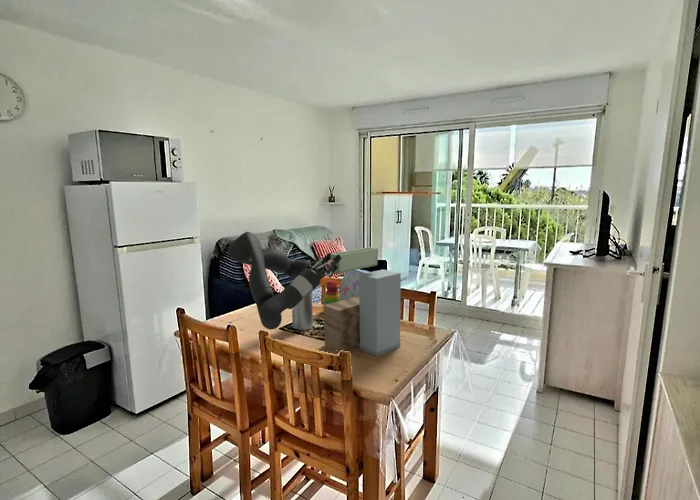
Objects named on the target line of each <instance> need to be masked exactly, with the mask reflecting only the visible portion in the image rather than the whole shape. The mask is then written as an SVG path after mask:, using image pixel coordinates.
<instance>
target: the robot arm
mask: <svg viewBox="0 0 700 500" xmlns="http://www.w3.org/2000/svg"><path fill="white" fill-rule="evenodd" d="M227 246H228V247H227V253H228V255H229V256H230V257H231V259H233V260H234V262H235V261H236V262H237V263H240V264H243V265H250V271H249V275H248V286H249V289H250V292H251V295H252V296H251V297H252V298H253V300H254V303H255V305H256V308H257V312H258V316H259V319H260V323H261V325H262V327H263V328H265V329H266V330H267V329H268V330H270V331H271V330H276V329H277V328H278V327H280V326H281V323H282V320H283V319H282V318H283V317H282V313H283V312H284V311H285V310H287V309H288V310H291V316H292V317H291V319H292V329H293V328H294V329H295V330H297V329H298V330H297V331H306V330H309V329H312V328H313V327H314V321H313V319H314V318H313V317H314V315H313V313H314V312H313V291H314V290H315V289H316V288H317V287H318V286H320V284H321V280H322V279H323V278H325V277H328V278H332V277H333V275H334V274H336V273H335V271H336V270H337V268H338V267H337V265H336V264H337V263H338V262H339V261H340V260H341V256H340V255H337V256H335V257H334V258H333V259H332V260H331V261H330V254H332V253H331V252H328V253H326V255H324V256H323V257H321V258H316V259H314V260H313V261H310V260H306V259H292V258H289V257H288V256H287V254H286V253H285V252H283V251H281V250H279V249H276V248H270V247H269V248H263V247H262V243H261V242H260V240H259V238H258V237H257V236H256V235H255V234H254V233H253V232H251V231H245V232H244V233H242V234H241V235H239V236H238V237H236V238H235V239H234V240H233V241H232V242H231V243H230V244H229V245H227ZM330 264H331V266H330ZM267 270H269V271H271V272H275V273H279V274H280V273H281V274H284V275H286V276H288V277H289V278H291V279H292V280H291V282H290V283H289V284H288V285H287V286H286V287H285V288H284V289H283V290H281V292H280V293H277V294H275V295H274V291H273V289H272V286H271V283H270V281H269V278H268V274H267Z"/></svg>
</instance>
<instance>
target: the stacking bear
mask: <svg viewBox="0 0 700 500" xmlns="http://www.w3.org/2000/svg"><path fill="white" fill-rule="evenodd" d="M325 289H326V291H325V293H324V296H323V306H324V305H326V304H330V303H334V302H338V301H340V284H339V283H338V281H336V280H335V279H331V280H327V282H326V283H325Z"/></svg>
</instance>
